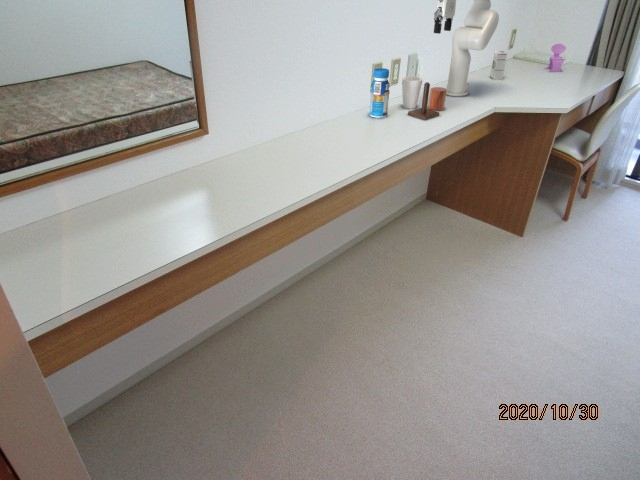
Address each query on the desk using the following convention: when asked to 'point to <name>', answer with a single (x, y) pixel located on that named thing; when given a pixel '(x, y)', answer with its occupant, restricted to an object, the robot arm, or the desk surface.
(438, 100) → the cup
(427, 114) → the holder
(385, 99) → the beverage bottle
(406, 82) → the foam cup
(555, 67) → the pink figurine
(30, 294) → the desk surface
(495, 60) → the syrup box
